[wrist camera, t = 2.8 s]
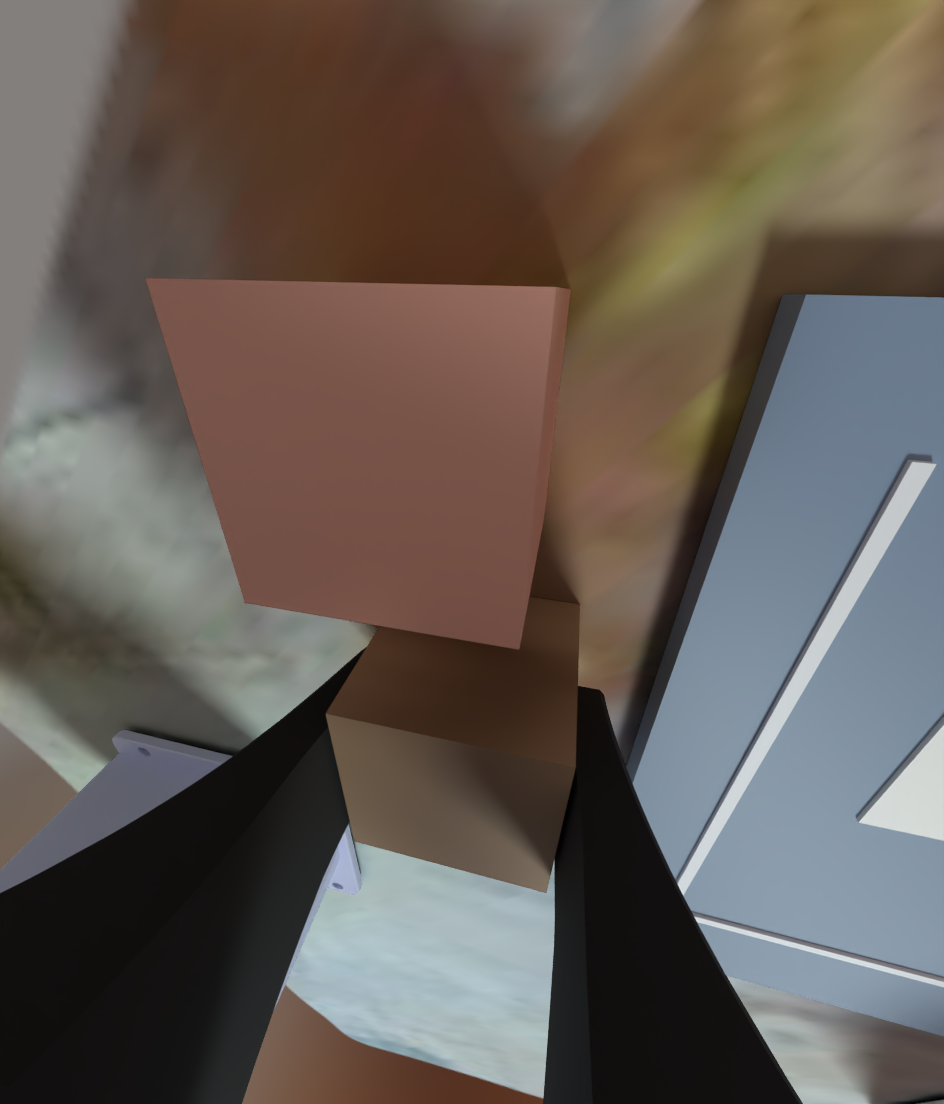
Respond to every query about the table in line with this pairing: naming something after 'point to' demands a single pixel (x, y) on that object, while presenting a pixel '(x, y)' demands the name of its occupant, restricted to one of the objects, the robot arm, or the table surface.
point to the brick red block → (375, 442)
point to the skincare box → (933, 1102)
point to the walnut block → (463, 745)
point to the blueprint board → (817, 672)
